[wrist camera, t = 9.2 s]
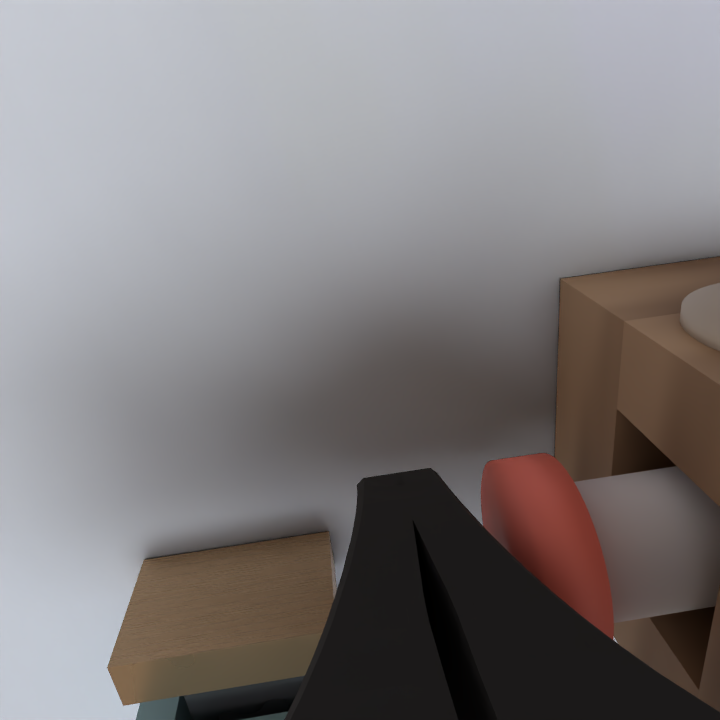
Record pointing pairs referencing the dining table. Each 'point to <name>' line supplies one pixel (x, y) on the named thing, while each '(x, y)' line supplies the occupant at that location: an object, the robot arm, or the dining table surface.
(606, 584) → the plunger
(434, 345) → the dining table surface
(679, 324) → the cabinet
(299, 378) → the dining table surface
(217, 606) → the rail
